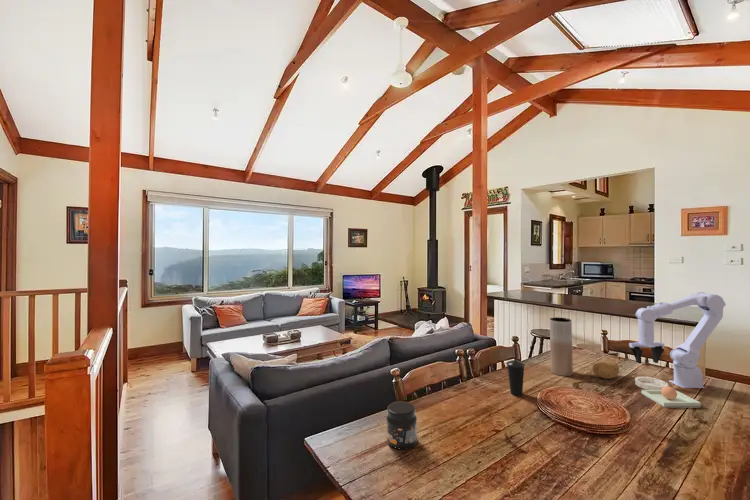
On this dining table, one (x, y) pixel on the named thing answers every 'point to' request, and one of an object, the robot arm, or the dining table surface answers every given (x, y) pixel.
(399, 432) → the supplement container
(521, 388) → the drinking cup
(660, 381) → the dish
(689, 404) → the tray
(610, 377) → the potato
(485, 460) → the dining table surface
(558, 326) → the vase
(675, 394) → the ball
